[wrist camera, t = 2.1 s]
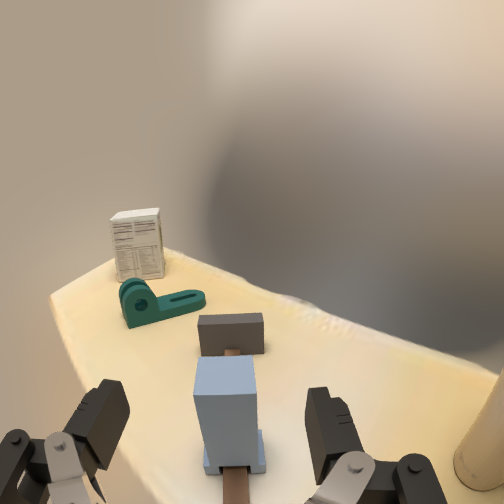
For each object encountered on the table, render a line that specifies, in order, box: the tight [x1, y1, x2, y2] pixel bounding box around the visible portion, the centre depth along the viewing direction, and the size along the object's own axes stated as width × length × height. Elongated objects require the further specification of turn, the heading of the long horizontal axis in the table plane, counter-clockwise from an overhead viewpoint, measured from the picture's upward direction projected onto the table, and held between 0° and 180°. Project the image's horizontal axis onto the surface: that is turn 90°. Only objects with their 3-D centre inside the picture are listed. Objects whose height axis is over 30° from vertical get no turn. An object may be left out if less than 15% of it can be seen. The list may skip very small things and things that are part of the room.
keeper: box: [193, 355, 266, 475], centre depth 25 cm, size 6×5×13 cm
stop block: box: [197, 313, 264, 356], centre depth 46 cm, size 10×3×6 cm, turn 94°
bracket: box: [119, 278, 206, 329], centre depth 59 cm, size 18×7×8 cm, turn 123°
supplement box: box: [110, 208, 165, 282], centre depth 80 cm, size 13×13×18 cm
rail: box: [223, 349, 249, 504], centre depth 32 cm, size 2×29×1 cm, turn 3°
